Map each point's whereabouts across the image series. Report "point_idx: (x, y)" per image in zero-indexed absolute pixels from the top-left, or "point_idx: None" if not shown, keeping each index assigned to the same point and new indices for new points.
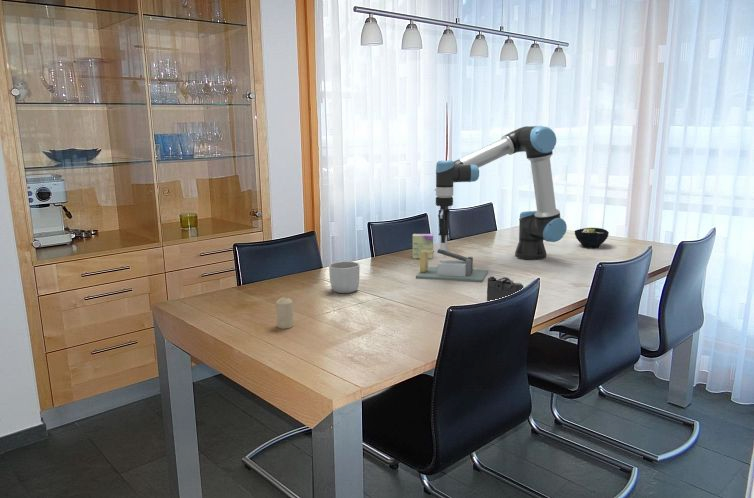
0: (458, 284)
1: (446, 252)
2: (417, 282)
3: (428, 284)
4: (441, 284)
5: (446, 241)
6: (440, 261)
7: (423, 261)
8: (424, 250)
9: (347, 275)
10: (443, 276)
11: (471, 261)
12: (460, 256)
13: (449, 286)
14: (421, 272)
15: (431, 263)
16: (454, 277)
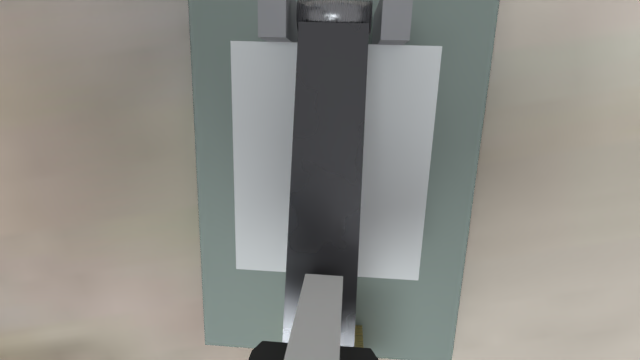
0: (579, 77)
1: (346, 261)
2: (544, 330)
3: (589, 264)
4: (585, 188)
5: (331, 337)
6: None
7: None
8: None
9: None
10: (440, 202)
11: (292, 5)
12: (333, 110)
13: (636, 129)
14: None
15: (72, 323)
16: (458, 125)
